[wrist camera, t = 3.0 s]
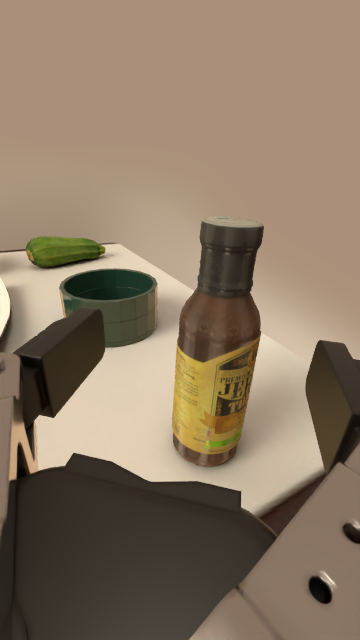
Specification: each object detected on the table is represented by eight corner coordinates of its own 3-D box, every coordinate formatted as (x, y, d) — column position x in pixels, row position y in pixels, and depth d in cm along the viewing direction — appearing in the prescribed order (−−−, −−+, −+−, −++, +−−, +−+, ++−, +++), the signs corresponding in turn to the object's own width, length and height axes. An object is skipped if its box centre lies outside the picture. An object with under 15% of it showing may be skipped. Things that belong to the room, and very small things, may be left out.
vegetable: (21, 231, 68) (99, 225, 80) (22, 256, 72) (95, 246, 85) (34, 252, 65) (113, 242, 77) (34, 276, 70) (108, 263, 82)
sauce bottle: (217, 486, 24) (255, 234, 15) (158, 446, 27) (159, 219, 18) (250, 435, 28) (294, 221, 19) (196, 406, 32) (212, 211, 23)
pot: (150, 303, 55) (150, 267, 52) (163, 342, 43) (164, 298, 40) (71, 308, 52) (65, 270, 49) (60, 351, 40) (52, 304, 37)
